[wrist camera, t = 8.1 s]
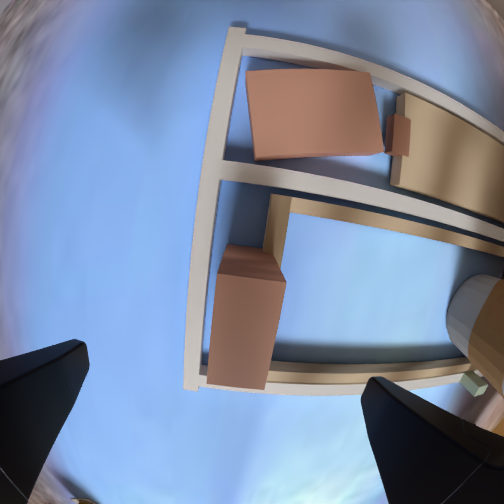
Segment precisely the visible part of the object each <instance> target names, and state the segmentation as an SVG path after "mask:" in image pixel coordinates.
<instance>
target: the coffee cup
mask: <svg viewBox="0 0 504 504" xmlns="http://www.w3.org/2000/svg"><path fill="white" fill-rule="evenodd" d="M446 328H447V331H448V334H449V338H450V340H451V341H452V342H453V344H454V345H455V346H456V347H457V348H458V349H459V350H460V351H461V352H462V353H463V354H464V355H465V356H466V357H467V358H468V359H469V361H470V362H471V363H472V364H473V365H474V366H475V367H476V368H477V369H478V371H479V372H480V373H481V374H482V375H483V376H484V377H485V378H486V379H487V380H488V381H489V382H490V383H491V385H492V386H493V387H494V388H495V389H496V390H497V391H498V392H499V394H500V395H501V396H502V397H503V398H504V279H499V278H496V277H493V276H490V275H486V274H480V275H476V276H472V277H470V278H469V279H467V280H466V281H465V282H464V283H463V284H462V285H461V286H460V287H459V288H458V290H457V291H456V293H455V294H454V296H453V298H452V300H451V302H450V305H449V308H448V312H447V317H446Z"/></svg>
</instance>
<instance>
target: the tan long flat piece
mask: <svg viewBox="0 0 504 504" xmlns="http://www.w3.org/2000/svg"><path fill="white" fill-rule="evenodd" d="M384 153H385V154H388V155H392V156H393V161H392V170H391V179H390V185H392V186H395V187H399V188H402V189H406V190H409V191H413V192H416V193H419V194H422V195H426V196H429V197H432V198H435V199H438V200H441V201H444V202H447V203H450V204H453V205H456V206H459V207H461V208H464V209H467V210H470V211H472V212H475V213H478V214H480V215H483V216H485V217H488V218H490V219H493V220H495V221H498V222H500V223H503V224H504V146H503V145H501V144H500V143H498V142H497V141H496V140H494V139H493V138H491V137H489V136H488V135H486V134H485V133H483V132H482V131H480V130H478V129H477V128H475V127H473V126H472V125H470V124H468V123H466V122H465V121H463V120H461V119H459V118H458V117H456V116H454V115H452V114H450V113H448V112H446V111H444V110H442V109H440V108H438V107H436V106H434V105H432V104H430V103H428V102H426V101H424V100H421V99H419V98H417V97H415V96H412V95H410V94H408V93H403V94H402V95H400V96H398V97H396V114H392V115H390V116H388V117H387V125H386V139H385V151H384Z"/></svg>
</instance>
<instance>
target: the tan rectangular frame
mask: <svg viewBox="0 0 504 504" xmlns="http://www.w3.org/2000/svg"><path fill="white" fill-rule="evenodd" d="M290 212H292V213H298V214H304V215H310V216H316V217H322V218H328V219H333V220H339V221H345V222H350V223H355V224H361V225H366V226H371V227H376V228H381V229H386V230H391V231H396V232H401V233H406V234H410V235H415V236H420V237H424V238H429V239H433V240H437V241H442V242H446V243H450V244H454V245H459V246H463V247H467V248H471V249H475V250H479V251H482V252H486V253H490V254H494V255H498V256H501V257H504V247H503V246H500V245H496V244H493V243H490V242H487V241H483V240H480V239H477V238H473V237H470V236H466V235H463V234H459V233H456V232H452V231H448V230H445V229H441V228H437V227H433V226H429V225H425V224H421V223H417V222H413V221H409V220H405V219H401V218H396V217H392V216H388V215H383V214H379V213H374V212H369V211H365V210H360V209H355V208H350V207H345V206H340V205H335V204H329V203H324V202H319V201H313V200H307V199H302V198H296V197H290V196H283V195H277V194H271V195H270V201H269V208H268V215H267V222H266V228H265V235H264V241H263V248H255V247H247V246H240V245H233V244H227V246H226V249H225V252H224V254H223V257H222V260H221V263H220V266H219V269H218V272H217V279H216V288H215V297H214V307H213V316H212V326H211V337H210V347H209V359H208V370H207V382H206V384H212V385H219V386H227V387H236V388H246V389H257V390H264V389H265V385H266V381H281V382H303V383H358V382H368V380H369V378H370V377H374V376H382V377H384V378H386V379H388V380H390V381H394V380H405V379H415V378H424V377H432V376H439V375H446V374H452V373H458V372H464V371H469V370H474V369H477V368H476V367H475V366H474V365H473V364H472V363H471V362H470V361H469V359H468V358H467V357H461V358H453V359H444V360H434V361H422V362H408V363H388V364H317V363H296V362H281V361H271V358H272V353H273V348H274V343H275V339H276V334H277V329H278V324H279V319H280V314H281V309H282V303H283V298H284V293H285V288H286V280H285V278H284V276H283V274H282V272H281V270H280V268H281V262H282V256H283V250H284V244H285V238H286V232H287V226H288V219H289V213H290ZM503 279H504V277H503Z"/></svg>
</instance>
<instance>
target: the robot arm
mask: <svg viewBox="0 0 504 504" xmlns="http://www.w3.org/2000/svg"><path fill="white" fill-rule="evenodd" d="M88 370H89V357H88V351H87V346H86V343H85V342H83V341H80V340H77V339H72V340H69V341H66V342H62V343H59V344H56V345H52V346H49V347H46V348H42V349H39V350H35V351H32V352H29V353H25V354H22V355H18V356H15V357H11V358H8V359H4V360H0V504H27V503H28V500H29V497H30V495H31V492H32V490H33V488H34V485H35V483H36V481H37V478H38V476H39V474H40V472H41V469H42V467H43V465H44V463H45V461H46V459H47V457H48V455H49V452H50V450H51V448H52V446H53V444H54V442H55V440H56V438H57V436H58V434H59V432H60V430H61V429H62V427H63V425H64V423H65V421H66V419H67V417H68V415H69V413H70V412H71V410H72V408H73V406H74V404H75V401H76V399H77V397H78V394H79V392H80V389H81V387H82V384H83V382H84V380H85V377H86V375H87V373H88ZM361 406H362V410H363V415H364V419H365V424H366V429H367V434H368V438H369V441H370V445H371V448H372V451H373V454H374V457H375V460H376V463H377V466H378V470H379V473H380V476H381V479H382V483H383V486H384V489H385V493H386V496H387V499H388V503H389V504H504V437H503V436H500V435H498V434H495V433H492V432H490V431H487V430H485V429H482V428H480V427H478V426H476V425H475V424H471V423H469V422H467V421H465V420H463V419H461V418H459V417H457V416H455V415H453V414H451V413H449V412H447V411H445V410H444V409H442V408H440V407H438V406H436V405H434V404H432V403H430V402H428V401H426V400H424V399H423V398H421V397H419V396H417V395H415V394H413V393H411V392H410V391H408V390H406V389H404V388H402V387H400V386H399V385H397V384H395V383H393V382H391V381H390V380H388V379H386V378H384V377H382V376H374V377H370V378H369V380H368V382H367V384H366V386H365V389H364V391H363V393H362V396H361Z"/></svg>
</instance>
